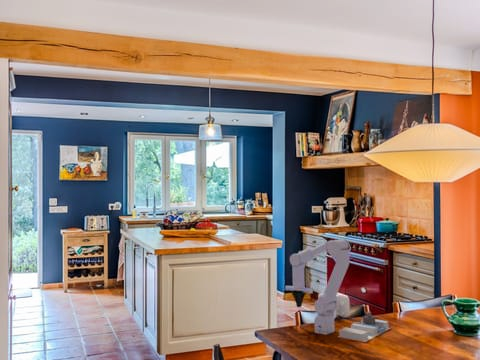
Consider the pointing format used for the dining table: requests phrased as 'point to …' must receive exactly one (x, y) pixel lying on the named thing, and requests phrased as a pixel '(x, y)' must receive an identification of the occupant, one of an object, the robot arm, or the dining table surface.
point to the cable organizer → (341, 305)
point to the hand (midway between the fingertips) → (299, 306)
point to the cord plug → (369, 319)
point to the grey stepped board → (364, 330)
